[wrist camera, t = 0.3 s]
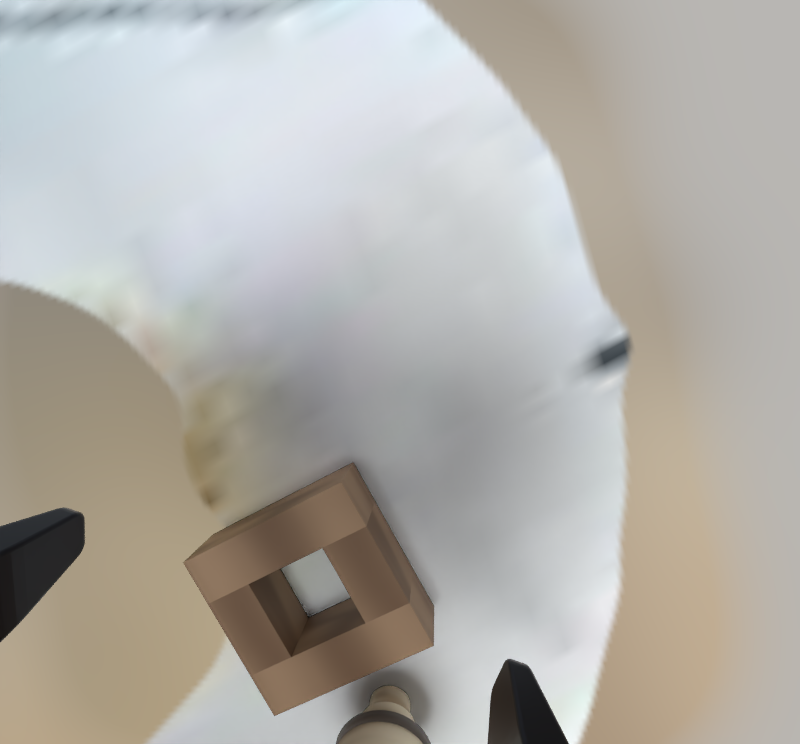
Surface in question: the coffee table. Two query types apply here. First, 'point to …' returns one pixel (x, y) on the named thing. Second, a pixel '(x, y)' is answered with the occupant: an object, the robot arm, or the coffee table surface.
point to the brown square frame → (279, 607)
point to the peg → (384, 721)
